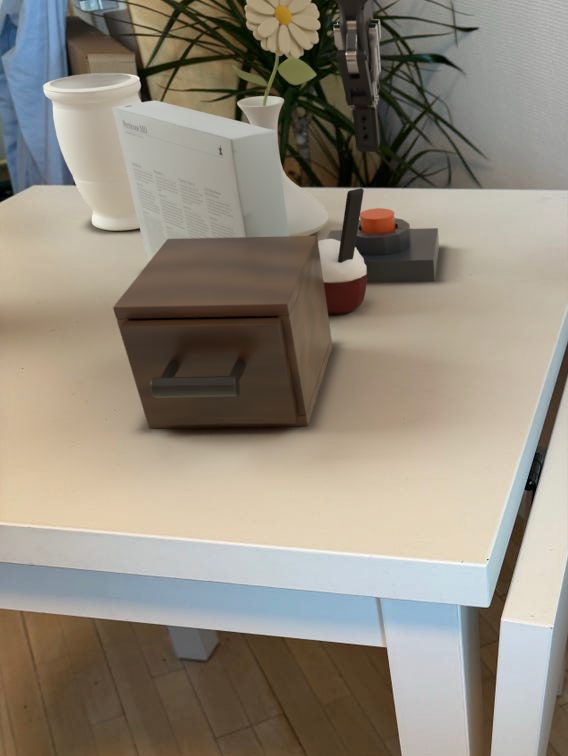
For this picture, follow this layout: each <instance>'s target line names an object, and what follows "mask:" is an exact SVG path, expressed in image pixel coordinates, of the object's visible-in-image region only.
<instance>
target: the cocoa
mask: <svg viewBox="0 0 568 756" xmlns="http://www.w3.org/2000/svg"><path fill="white" fill-rule="evenodd" d="M364 193H365V189H363V188H362V187H361V188H355V189H351V190H348V191H347V193H346V201H345V206H344V215H343V222H342V229H341V230H342V235H341V242H340V241H338V240H335V239H327V238H324V239H321V240H318V245H319V246H318V247H319V252H320V260H321V267H322V274H323V281H324V289H325V296H326V303H327V310H328V315H344V314H348V313H351V312H353V311H354V310H356V309H357V308H359V307H360V306H361V305H362V304H363V301H364V299H365V295H366V292H367V291H366V290H367V284H368V283H367V268H366V265H365V263H364V259H363V257H362V256H361V255H360V254H359V252H358V250H357V248H356V247H355V244H356V237H357V231H358V224H359V220H360V213H361V212H362V204H363V198H364Z"/></svg>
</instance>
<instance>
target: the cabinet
mask: <svg viewBox="0 0 568 756" xmlns="http://www.w3.org/2000/svg"><path fill="white" fill-rule="evenodd" d="M318 241H319V238H318V235H309V236H282V237H233V238H185V239H167V240H166V242H165V243H164V244H163V245H162V247H161V248H160V249H159V250H158V252H157V253H156V254H155V255H154V257H153V258H152V259H151V260H150V262H149V263H148V262H147V263H146V265H145V266H144V267H143V269H142V270H141V272H139V274H137V276H136V278H135V279H134V280H133V281H132V283H131V284H130V285H129V286H128V288H127V289H126V290H125V291H124V292H123V294H122V296H121V297H119V299H118V300H117V302H116V303H115V304H114V306H113V307H112V310H113V313H114V316H115V319H116V323H117V326H118V331H119V333H120V336H121V337H122V335H121V332H120V329H119V327H120V325H121V324H122V323H123V322H124V321H139V320H143V319H142V318H195V317H249V316H278V318H281V320H282V326H283V332H284V337H285V343H286V349H287V355H288V360H289V366H290V372H291V378H292V383H293V389H294V395H295V401H296V406H297V412H298V418H297V421H296V423H279V424H215V425H150V426H149V425H148V422H147V419H146V416H145V415H144V416H145V420H146V423H147V426H148V429H187V428H194V429H195V428H249V427H250V428H251V427H252V428H255V427H257V428H258V427H259V428H260V427H261V428H262V427H308V426H309V423H310V419H311V417H312V413H313V410H314V406H315V403H316V401H317V397H318V394H319V391H320V387H321V385H322V382H323V378H324V375H325V373H326V368H327V365H328V364H329V363H328V362H329V359H330V356H331V352H332V350H333V341H332V340H333V339H332V333H331V325H330V319H329V314H328V310H327V303H326V296H325V289H324V281H323V274H322V267H321V260H320V252H319V247H318V246H319V245H318ZM121 340H122V343H123V346H124V347H125V345H124V342H123V339H122V338H121ZM124 350H125V353H126V356H127V357H128V355H127V352H126V349H125V348H124ZM127 359H128V358H127ZM128 363H129V366H130V367H131V365H130V362H129V359H128ZM130 369H131V368H130ZM131 373H132V374H133V372H132V369H131ZM133 380H134V383H135V384H136V382H135V379H134V378H133ZM135 386H136V385H135ZM136 390H137V393H138V394H139V392H138V389H137V386H136ZM138 397H139V400H140V403H141V404H142V402H141V399H140V396H139V395H138ZM141 406H142V405H141ZM142 410H143V413H144V414H145V412H144V409H143V406H142Z"/></svg>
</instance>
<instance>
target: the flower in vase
mask: <svg viewBox="0 0 568 756" xmlns="http://www.w3.org/2000/svg"><path fill="white" fill-rule="evenodd" d="M245 1H246V5H245V6H244V11H245V19H246V22H245V25H246V27H247V29H248V30H249V31H252V34H253V37H254V39H256V40H257V41H260V46H261V48H262V49H263V50H264V51H269V52H270V53H274V54H275V61H274V65H273V70H272V72H271V76H270V78H269V81H268V83H267V82H266V80H265V79H264V78H263V77H262V76H259V75H257V74H253V73H249V72H246V71H244V70H242V69H240V68H238V67H237V66H235V65H234V64H231V66H232V69H233V71H234V73H235V74H236V75H237V76H238V77H239V78H241V79H243V80H245V81H247V82H250V83H254V84H257V85H259V86H264V87H266V89H265V92H264V95H260V96H257V95H256V96H252V97H245V98H242V99H240V100H238V101H237V102H236V104H237V106H238V108H240V110H241V111H242V112H243V113H244V115H245V116H246V118H247V120H248V122H249V124H252V125H255V126H259V127H262V128H266V129H271V130H275V131H276V138H277V146H278V153H279V161H280V168H281V176H282V183H283V191H284V198H285V206H286V213H287V221H288V228H289V236H312V235H314V234H316V233H317V232H319V231H321V230H322V229H323V228H325V226H326V225H327V223H328V221H329V219H330V216H329V212H328V211H327V208H326V207H325V205H323V204H322V203H321V202H320V201H319V200H318V199H317V198H316V197H315V196H314V195H312V194H311V193H309V192H308V191H306V190H305V189H303V188H302V187H300V186H299V185H298V184H296V183H295V182H294V181H292V179H290V177H288V176H287V174H286V172H285V170H284V168H283V165H282V162H281V156H280V149H279V139H278V138H279V136H278V126H279V125H278V123H279V117H280V113H281V110H282V107H283V105H284V103H285V99H284V98H283V97H282V96H281V97H280V96H276V95H275V96H273V95H269V93H270V90H271V87H272V85H273V82H274V79H275V77H276V74H277V72H278V73H279V75H280V76H281V77H282V78H283V79H284V80H285V81H286V82H287V83H288V84H291V85H293V86H299V85H302V84H304V83H306V82H309V81H311V80H312V79H314V78H315V77H316V76H317V73H316V71H315V70H313V68H312V67H311V66H310V65H309V64H307V63H306V62H305V61H303V60H302V59H300V57H302V56H304V54H305V50H306V51H310V50H312V49H313V47H314V45H317V44H318V43H319V41H320V38H319V33H318V32H317V31H318V30H320V29H321V22H320V20H318V19H319V18H320V11H319V10H318V6H317V4H315V3H313V2H312V0H245ZM283 55H285V57H287V59H285V60H284V61H283V62H282V63H280V64H279V60H280V57H282V56H283Z"/></svg>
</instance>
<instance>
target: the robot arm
mask: <svg viewBox="0 0 568 756" xmlns="http://www.w3.org/2000/svg"><path fill="white" fill-rule="evenodd" d="M326 1H331V0H326ZM333 1H334V2H336V3H337V4H338V19H337V20H336V23H334V24H333V38H334V39H333V40H334V45H335V47H336V49H337V54H336V61H337V63H338V68H339V72H340V77H341V82H342V87H343V91H344V95H345V102H346V105H347V107H349V109H350V110H352V120H353V128H354V129H353V131H354V140H355V148H356V150H357V152H360V153H375V152H377V151H378V150H379V147H380V132H379V131H380V130H379V120H378V105H379V101H380V95H379V94H380V90H381V83H380V74H382V73H381V72H382V67H381V54H380V53H381V51H380V41H381V39H382V29H381V20H380V19H379V18H375V19H374V15H373V8H372V7H373V6H372V0H333Z"/></svg>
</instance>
